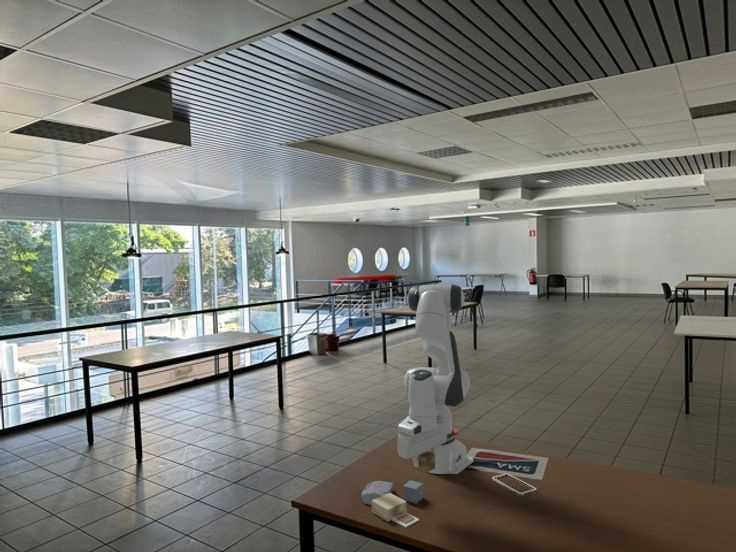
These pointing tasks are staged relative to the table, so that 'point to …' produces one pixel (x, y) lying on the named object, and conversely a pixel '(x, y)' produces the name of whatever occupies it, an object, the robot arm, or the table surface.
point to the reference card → (405, 519)
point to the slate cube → (413, 491)
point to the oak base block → (388, 506)
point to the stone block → (376, 491)
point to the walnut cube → (426, 461)
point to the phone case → (509, 486)
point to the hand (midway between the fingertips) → (424, 463)
